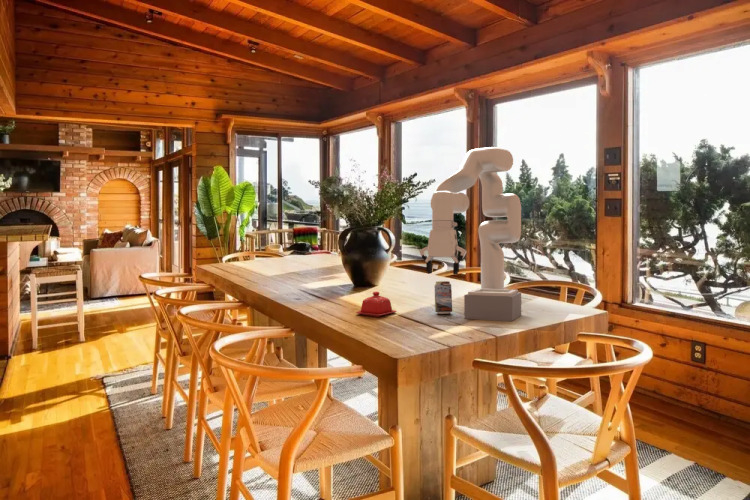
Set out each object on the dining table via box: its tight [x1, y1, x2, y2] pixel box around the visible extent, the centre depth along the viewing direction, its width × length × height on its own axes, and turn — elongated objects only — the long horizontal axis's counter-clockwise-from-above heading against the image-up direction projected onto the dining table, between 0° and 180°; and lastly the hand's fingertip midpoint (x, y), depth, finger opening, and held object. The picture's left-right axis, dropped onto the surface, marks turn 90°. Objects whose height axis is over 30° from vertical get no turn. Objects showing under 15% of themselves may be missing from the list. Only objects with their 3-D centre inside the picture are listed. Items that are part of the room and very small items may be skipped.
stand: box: [463, 288, 522, 322], centre depth 189 cm, size 16×16×9 cm
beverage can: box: [434, 280, 453, 315], centre depth 197 cm, size 6×7×12 cm
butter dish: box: [355, 291, 397, 318], centre depth 198 cm, size 12×12×8 cm
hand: (442, 273), depth 196 cm, fingers open, 9 cm apart
